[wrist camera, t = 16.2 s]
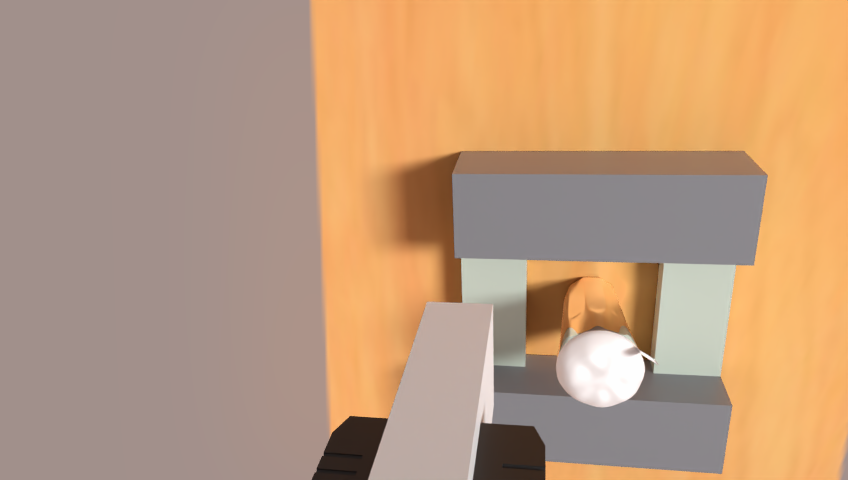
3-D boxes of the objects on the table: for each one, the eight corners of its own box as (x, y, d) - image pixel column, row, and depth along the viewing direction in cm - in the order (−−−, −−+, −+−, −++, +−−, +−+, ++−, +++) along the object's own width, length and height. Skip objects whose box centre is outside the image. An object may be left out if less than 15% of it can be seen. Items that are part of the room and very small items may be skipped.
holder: (461, 151, 41) (452, 173, 37) (744, 151, 39) (767, 175, 35) (467, 412, 49) (460, 454, 45) (706, 426, 46) (721, 473, 42)
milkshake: (653, 300, 43) (682, 395, 34) (581, 341, 45) (590, 441, 36) (612, 246, 42) (630, 328, 33) (540, 290, 44) (538, 379, 35)
